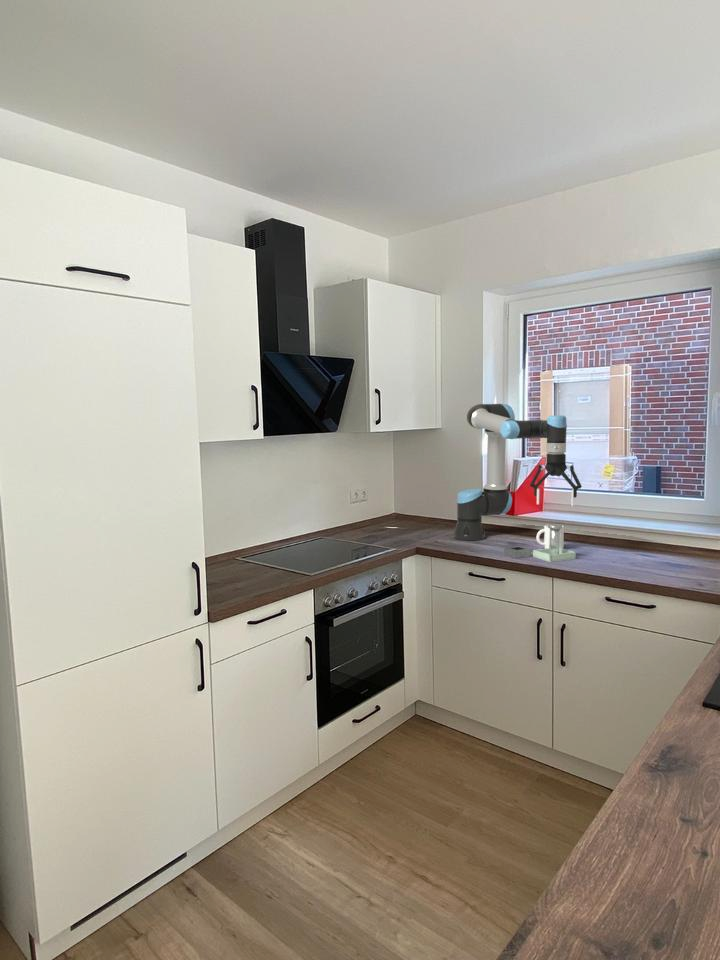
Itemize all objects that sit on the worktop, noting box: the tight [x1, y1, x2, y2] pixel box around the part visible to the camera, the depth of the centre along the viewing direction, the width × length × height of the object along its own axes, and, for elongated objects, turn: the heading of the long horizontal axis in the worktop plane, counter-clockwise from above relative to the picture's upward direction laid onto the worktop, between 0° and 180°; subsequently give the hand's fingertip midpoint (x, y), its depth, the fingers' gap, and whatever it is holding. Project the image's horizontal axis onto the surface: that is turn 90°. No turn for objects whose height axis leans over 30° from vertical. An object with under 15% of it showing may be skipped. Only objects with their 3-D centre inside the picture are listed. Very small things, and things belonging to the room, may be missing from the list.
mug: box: [535, 524, 565, 549], centre depth 274 cm, size 12×8×10 cm
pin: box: [547, 523, 563, 555], centre depth 257 cm, size 6×6×13 cm
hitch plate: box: [503, 545, 532, 559], centre depth 262 cm, size 8×8×3 cm
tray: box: [532, 547, 577, 563], centre depth 257 cm, size 11×13×3 cm
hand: (555, 504), depth 255 cm, fingers open, 13 cm apart
